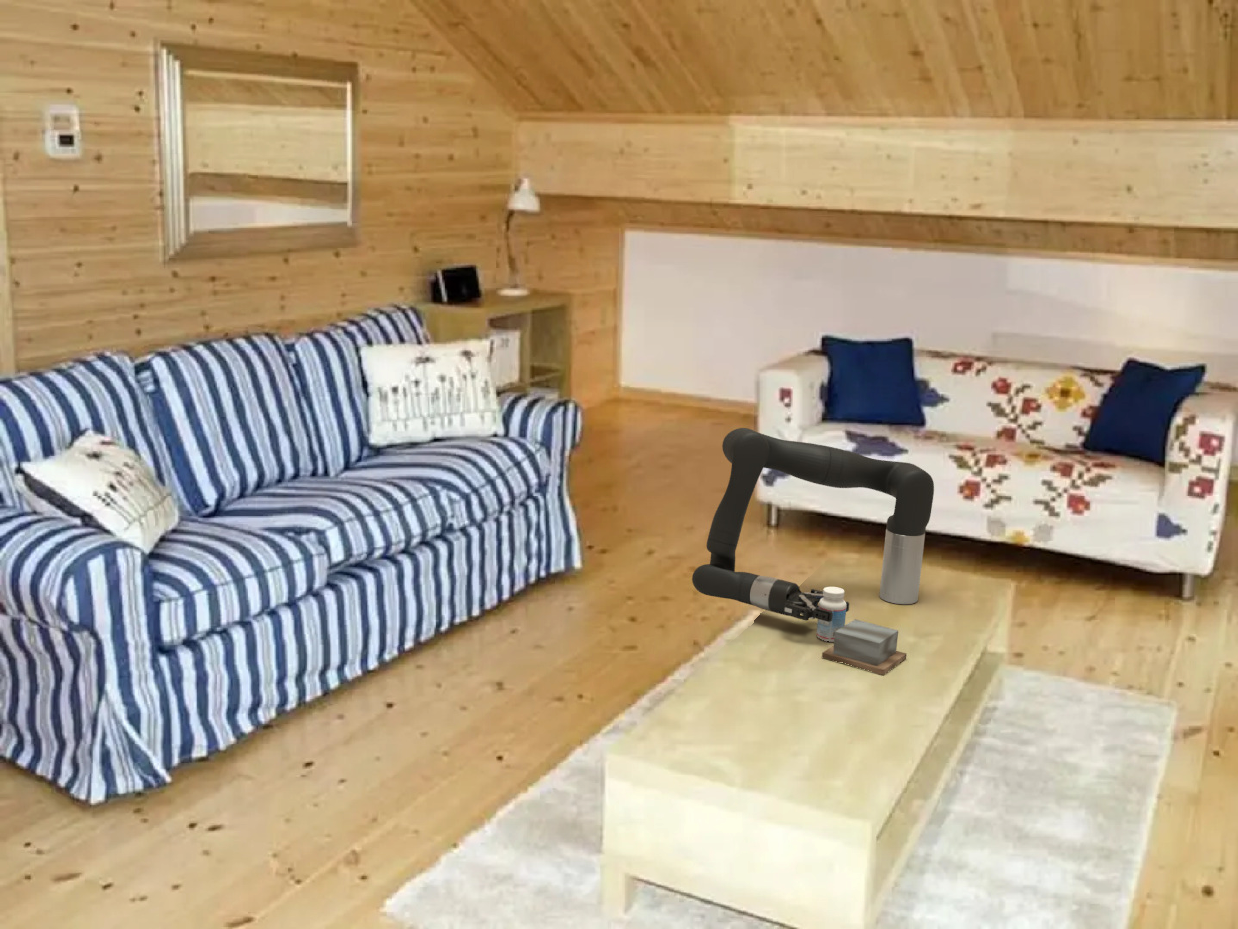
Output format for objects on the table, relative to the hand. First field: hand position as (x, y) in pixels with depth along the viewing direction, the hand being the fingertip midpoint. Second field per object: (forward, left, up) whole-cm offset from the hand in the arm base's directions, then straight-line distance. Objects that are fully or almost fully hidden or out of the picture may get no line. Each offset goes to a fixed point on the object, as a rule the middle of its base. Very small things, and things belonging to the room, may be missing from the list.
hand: (840, 612), depth 279 cm
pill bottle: (0, -2, -7) cm, 7 cm away
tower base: (+6, +9, -7) cm, 13 cm away
